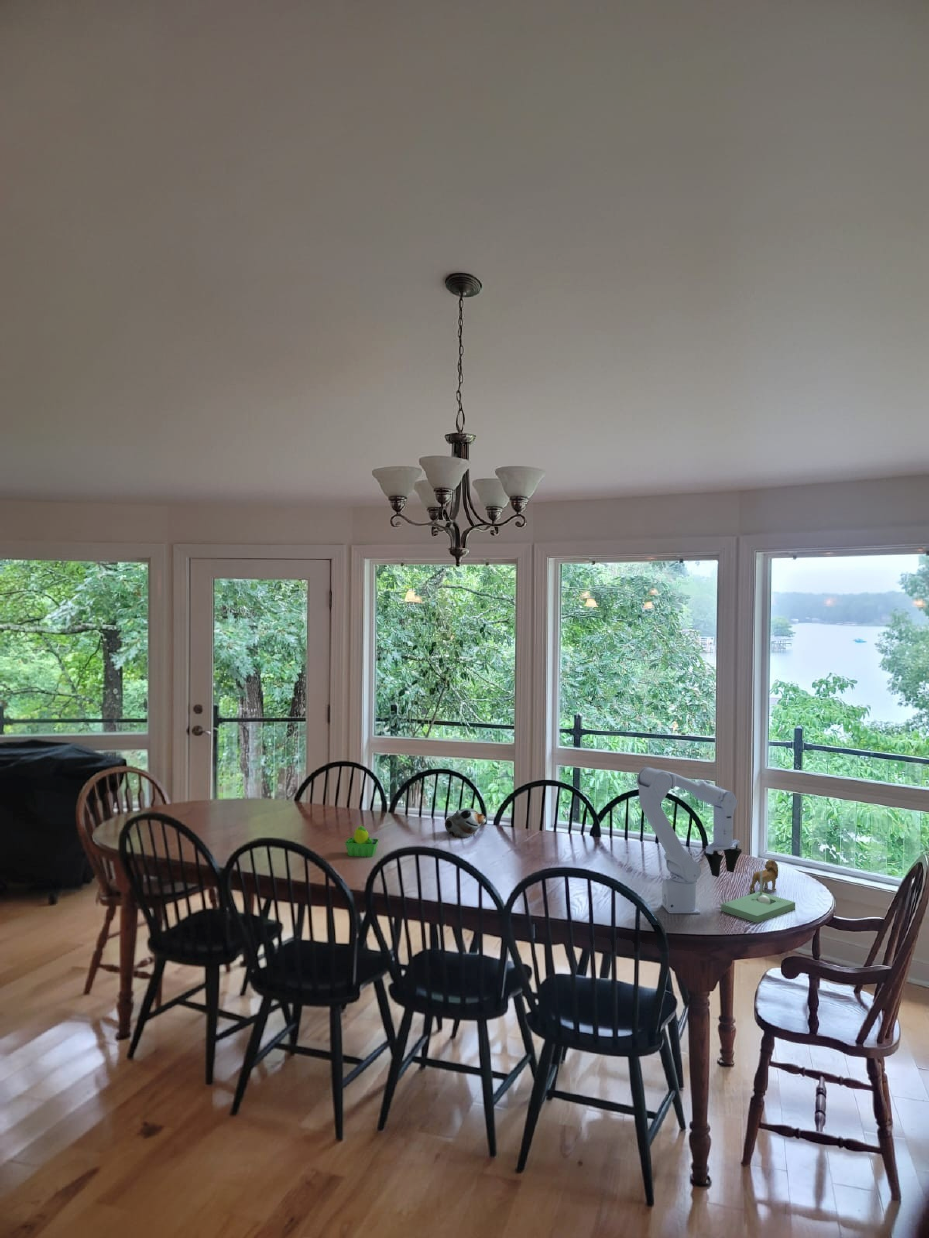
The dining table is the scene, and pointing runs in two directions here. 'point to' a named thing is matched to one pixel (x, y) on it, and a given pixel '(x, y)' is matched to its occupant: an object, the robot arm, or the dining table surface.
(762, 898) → the golf ball
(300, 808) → the dining table surface
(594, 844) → the dining table surface
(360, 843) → the fruit basket
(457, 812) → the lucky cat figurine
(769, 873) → the lion figurine
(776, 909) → the putting mat
